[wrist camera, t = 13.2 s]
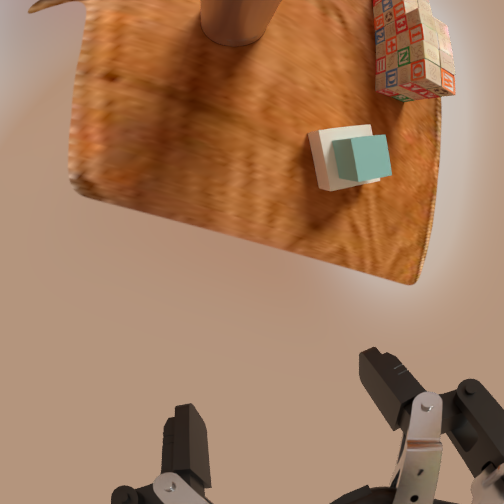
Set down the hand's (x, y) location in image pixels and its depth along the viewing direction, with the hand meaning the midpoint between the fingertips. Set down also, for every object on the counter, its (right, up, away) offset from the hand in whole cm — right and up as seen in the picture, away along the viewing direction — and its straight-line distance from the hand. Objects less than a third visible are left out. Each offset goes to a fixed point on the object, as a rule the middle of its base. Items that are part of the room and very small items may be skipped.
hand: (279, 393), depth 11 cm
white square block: (+11, +20, +25) cm, 34 cm away
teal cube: (+12, +19, +22) cm, 31 cm away
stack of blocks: (+22, +41, +20) cm, 51 cm away
